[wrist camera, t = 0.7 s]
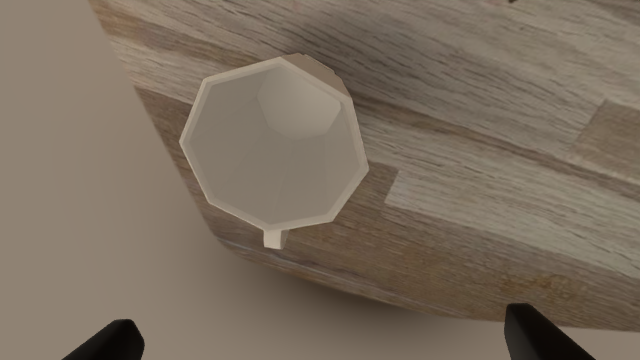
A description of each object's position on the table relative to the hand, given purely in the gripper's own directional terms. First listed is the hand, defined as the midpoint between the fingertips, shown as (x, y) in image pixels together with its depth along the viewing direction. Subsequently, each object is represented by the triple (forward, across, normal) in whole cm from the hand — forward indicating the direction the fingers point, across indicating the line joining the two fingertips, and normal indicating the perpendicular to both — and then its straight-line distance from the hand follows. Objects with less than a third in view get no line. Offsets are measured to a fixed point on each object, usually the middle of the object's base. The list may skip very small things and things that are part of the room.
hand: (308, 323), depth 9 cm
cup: (+14, +2, 0) cm, 14 cm away
